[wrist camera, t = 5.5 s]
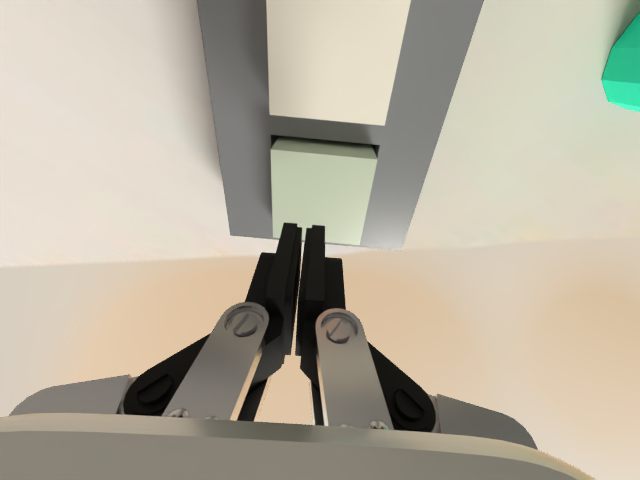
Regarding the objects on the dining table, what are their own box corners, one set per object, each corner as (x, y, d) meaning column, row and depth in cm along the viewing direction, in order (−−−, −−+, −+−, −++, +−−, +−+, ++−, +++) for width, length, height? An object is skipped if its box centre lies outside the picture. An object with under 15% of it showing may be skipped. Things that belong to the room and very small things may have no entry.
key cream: (400, -19, 12) (419, -39, 9) (375, 113, 15) (384, 125, 12) (279, -31, 12) (264, -55, 9) (280, 104, 15) (269, 114, 12)
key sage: (370, 141, 16) (377, 159, 13) (356, 218, 19) (359, 245, 16) (280, 133, 16) (270, 149, 13) (281, 212, 19) (273, 237, 16)
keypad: (544, -329, 9) (664, -548, 6) (391, 221, 22) (401, 250, 18) (191, -371, 9) (108, -619, 6) (246, 207, 22) (230, 235, 18)
